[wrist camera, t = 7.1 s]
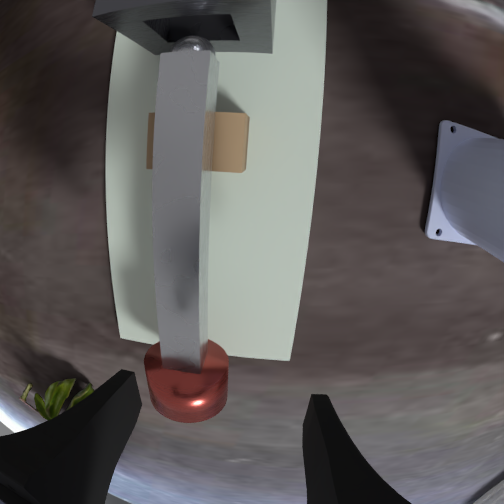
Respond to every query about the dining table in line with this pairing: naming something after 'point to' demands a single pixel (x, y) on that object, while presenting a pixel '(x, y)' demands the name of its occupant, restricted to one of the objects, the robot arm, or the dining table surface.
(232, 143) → the brown rectangular block
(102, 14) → the block
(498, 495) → the plate stack
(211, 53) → the rod
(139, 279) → the board
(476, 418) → the dining table surface
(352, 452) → the robot arm
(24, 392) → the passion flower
